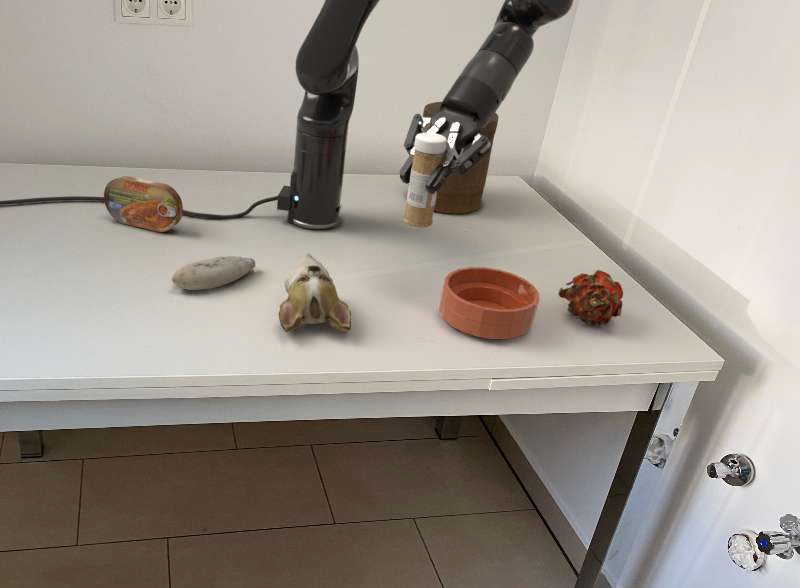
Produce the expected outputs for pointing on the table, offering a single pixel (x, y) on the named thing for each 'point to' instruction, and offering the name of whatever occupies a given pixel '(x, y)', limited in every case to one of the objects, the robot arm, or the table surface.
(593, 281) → the dragon fruit
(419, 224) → the sprinkles bottle
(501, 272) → the bowl
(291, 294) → the ceramic sculpture
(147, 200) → the tin
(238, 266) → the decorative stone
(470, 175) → the wooden container
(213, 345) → the table surface
